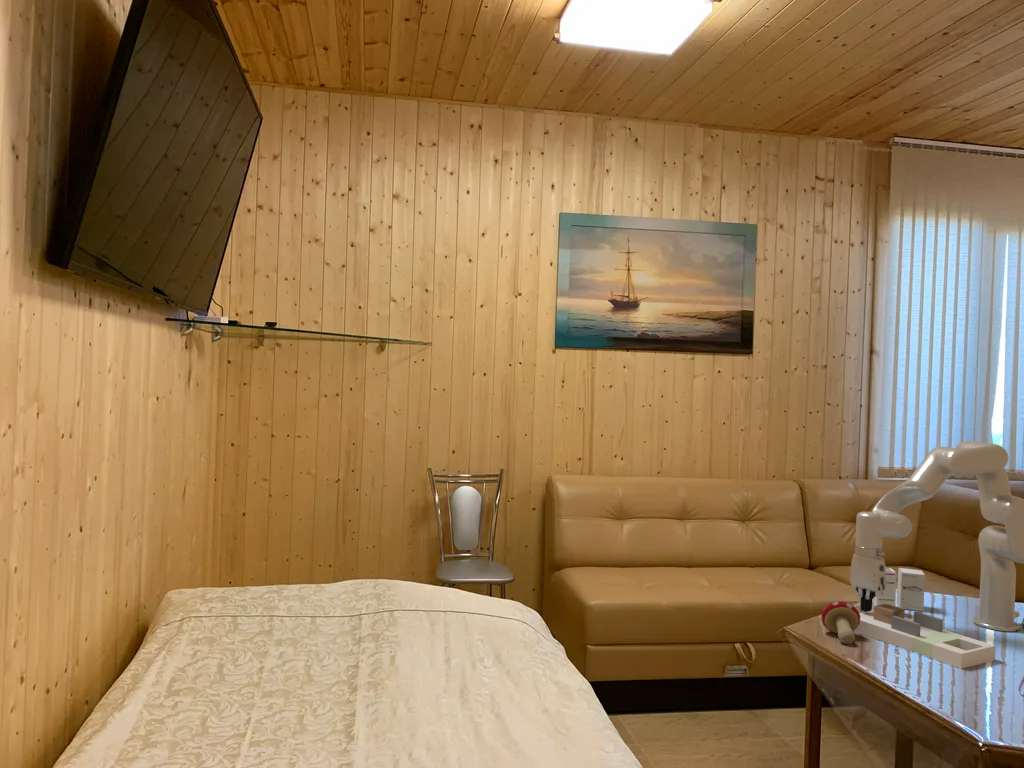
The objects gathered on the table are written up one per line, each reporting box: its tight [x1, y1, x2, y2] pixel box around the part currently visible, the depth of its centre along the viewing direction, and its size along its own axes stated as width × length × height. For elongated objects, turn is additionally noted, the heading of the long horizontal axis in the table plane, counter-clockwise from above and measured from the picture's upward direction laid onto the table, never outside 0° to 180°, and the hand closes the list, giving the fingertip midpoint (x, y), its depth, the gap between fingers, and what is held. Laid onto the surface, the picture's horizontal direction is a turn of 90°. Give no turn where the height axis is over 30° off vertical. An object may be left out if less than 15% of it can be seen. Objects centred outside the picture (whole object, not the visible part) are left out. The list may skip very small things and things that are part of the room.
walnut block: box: [873, 604, 906, 625], centre depth 234 cm, size 6×6×4 cm
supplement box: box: [896, 567, 926, 613], centre depth 263 cm, size 7×7×13 cm
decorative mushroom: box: [820, 600, 861, 645], centre depth 229 cm, size 11×11×15 cm
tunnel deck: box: [853, 609, 997, 670], centre depth 226 cm, size 16×36×8 cm, turn 29°
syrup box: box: [872, 566, 897, 610], centre depth 257 cm, size 6×6×14 cm
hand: (866, 610), depth 241 cm, fingers closed
